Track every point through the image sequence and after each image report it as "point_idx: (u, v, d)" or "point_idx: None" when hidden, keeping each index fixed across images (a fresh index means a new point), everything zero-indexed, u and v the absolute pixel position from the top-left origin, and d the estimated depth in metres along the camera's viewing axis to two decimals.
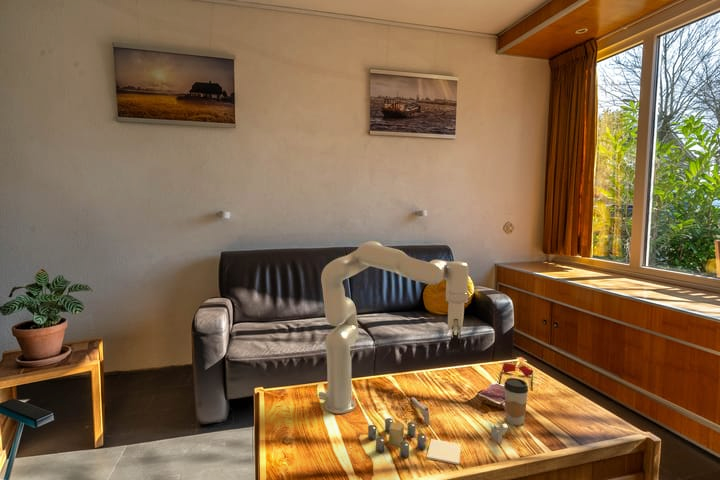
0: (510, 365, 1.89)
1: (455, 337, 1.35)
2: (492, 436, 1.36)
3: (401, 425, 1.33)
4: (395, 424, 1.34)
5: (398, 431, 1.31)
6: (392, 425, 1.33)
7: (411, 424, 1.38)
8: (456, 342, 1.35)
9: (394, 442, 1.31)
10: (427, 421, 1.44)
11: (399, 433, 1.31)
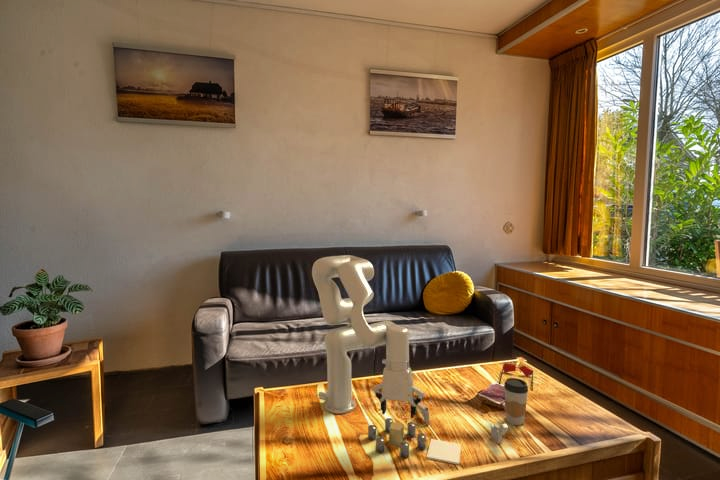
0: (510, 365, 1.89)
1: (416, 404, 1.30)
2: (492, 436, 1.36)
3: (401, 425, 1.33)
4: (395, 424, 1.34)
5: (398, 431, 1.31)
6: (392, 425, 1.33)
7: (411, 424, 1.38)
8: (415, 408, 1.30)
9: (394, 442, 1.31)
10: (427, 421, 1.44)
11: (399, 433, 1.31)
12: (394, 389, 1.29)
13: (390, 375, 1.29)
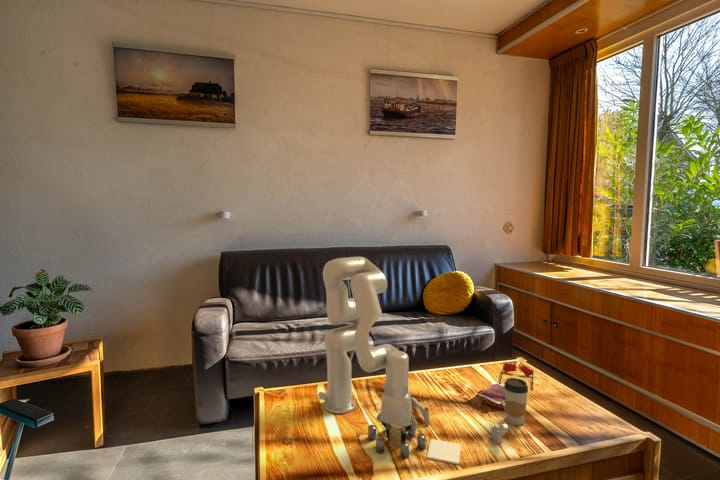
0: (511, 365, 1.89)
1: None
2: (492, 436, 1.36)
3: None
4: None
5: (398, 431, 1.31)
6: (392, 425, 1.33)
7: None
8: (406, 435, 1.32)
9: (394, 442, 1.32)
10: (427, 421, 1.44)
11: (399, 433, 1.31)
12: (393, 414, 1.30)
13: (389, 400, 1.30)
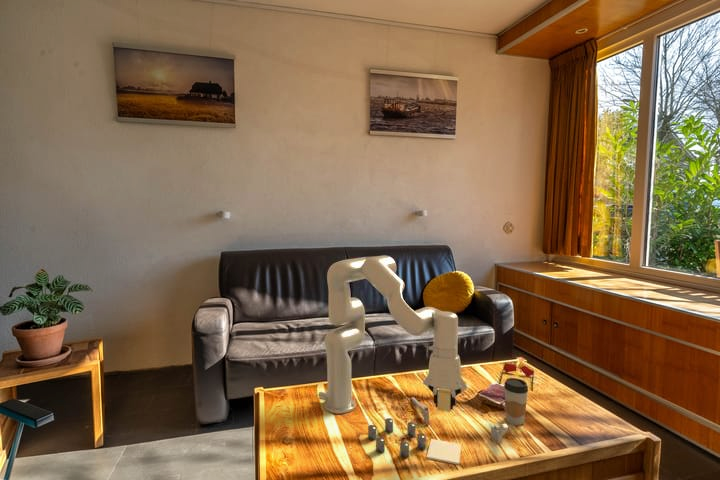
0: (511, 365, 1.89)
1: None
2: (492, 436, 1.36)
3: (449, 389, 1.27)
4: (443, 388, 1.28)
5: (447, 394, 1.25)
6: (440, 389, 1.27)
7: (411, 424, 1.38)
8: None
9: (443, 406, 1.25)
10: (427, 421, 1.44)
11: (448, 396, 1.25)
12: (442, 377, 1.24)
13: (438, 363, 1.24)
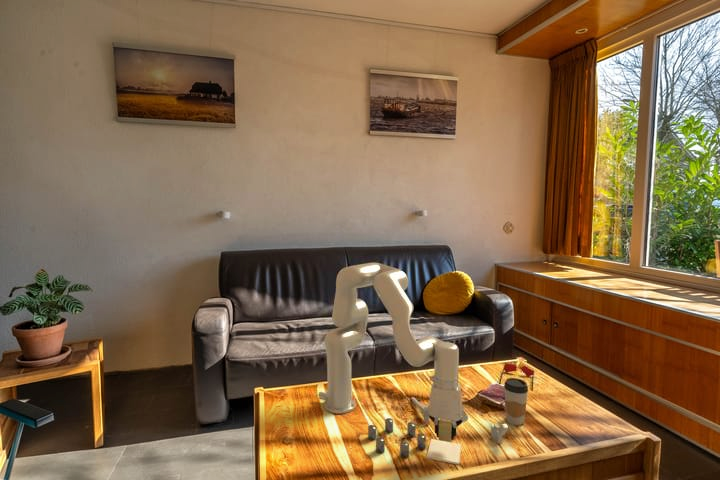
0: (511, 365, 1.89)
1: None
2: (492, 436, 1.36)
3: None
4: None
5: (448, 425, 1.25)
6: (441, 419, 1.28)
7: (411, 424, 1.38)
8: None
9: (444, 437, 1.26)
10: (427, 421, 1.44)
11: (449, 427, 1.25)
12: (443, 408, 1.24)
13: (439, 394, 1.25)
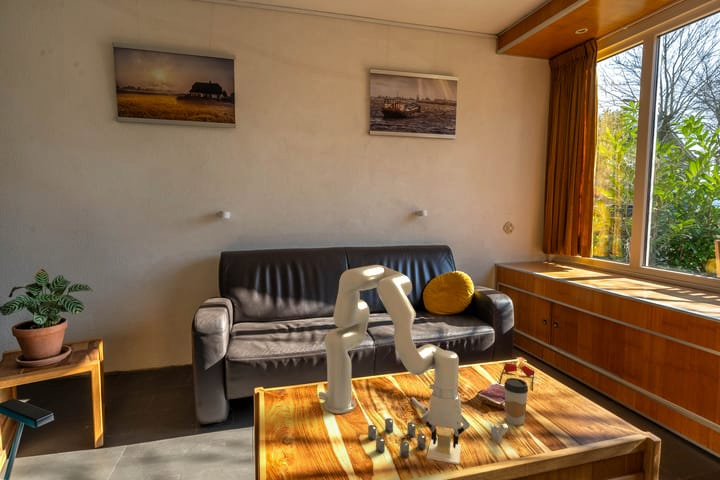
0: (511, 365, 1.89)
1: None
2: (492, 436, 1.36)
3: (449, 431, 1.29)
4: (443, 430, 1.29)
5: (447, 437, 1.26)
6: (440, 431, 1.29)
7: (411, 424, 1.38)
8: None
9: (442, 449, 1.27)
10: None
11: (448, 439, 1.26)
12: (442, 416, 1.25)
13: (439, 402, 1.25)
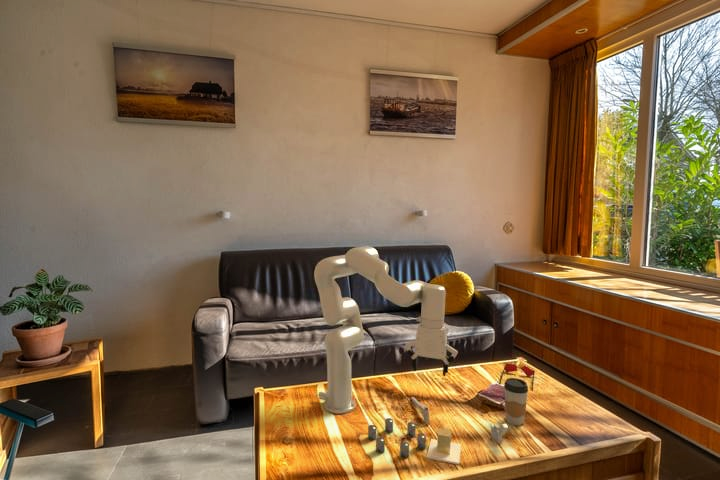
0: (512, 365, 1.89)
1: None
2: (492, 436, 1.36)
3: (449, 431, 1.29)
4: (443, 430, 1.29)
5: (447, 437, 1.26)
6: (440, 431, 1.29)
7: (411, 424, 1.38)
8: None
9: (442, 449, 1.27)
10: (427, 421, 1.44)
11: (448, 439, 1.26)
12: (428, 346, 1.29)
13: (425, 333, 1.29)
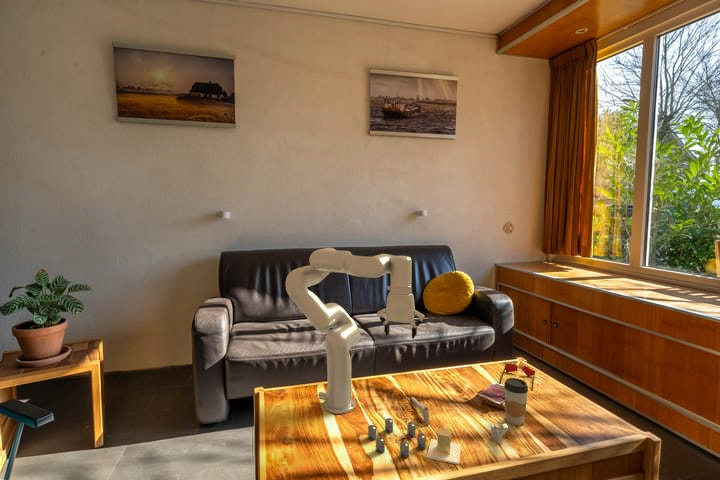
0: (512, 365, 1.89)
1: None
2: (492, 436, 1.36)
3: (449, 431, 1.29)
4: (443, 430, 1.29)
5: (447, 437, 1.26)
6: (440, 431, 1.29)
7: (411, 424, 1.38)
8: (416, 330, 1.43)
9: (442, 449, 1.27)
10: (427, 421, 1.44)
11: (448, 439, 1.26)
12: (397, 312, 1.41)
13: (394, 299, 1.41)
